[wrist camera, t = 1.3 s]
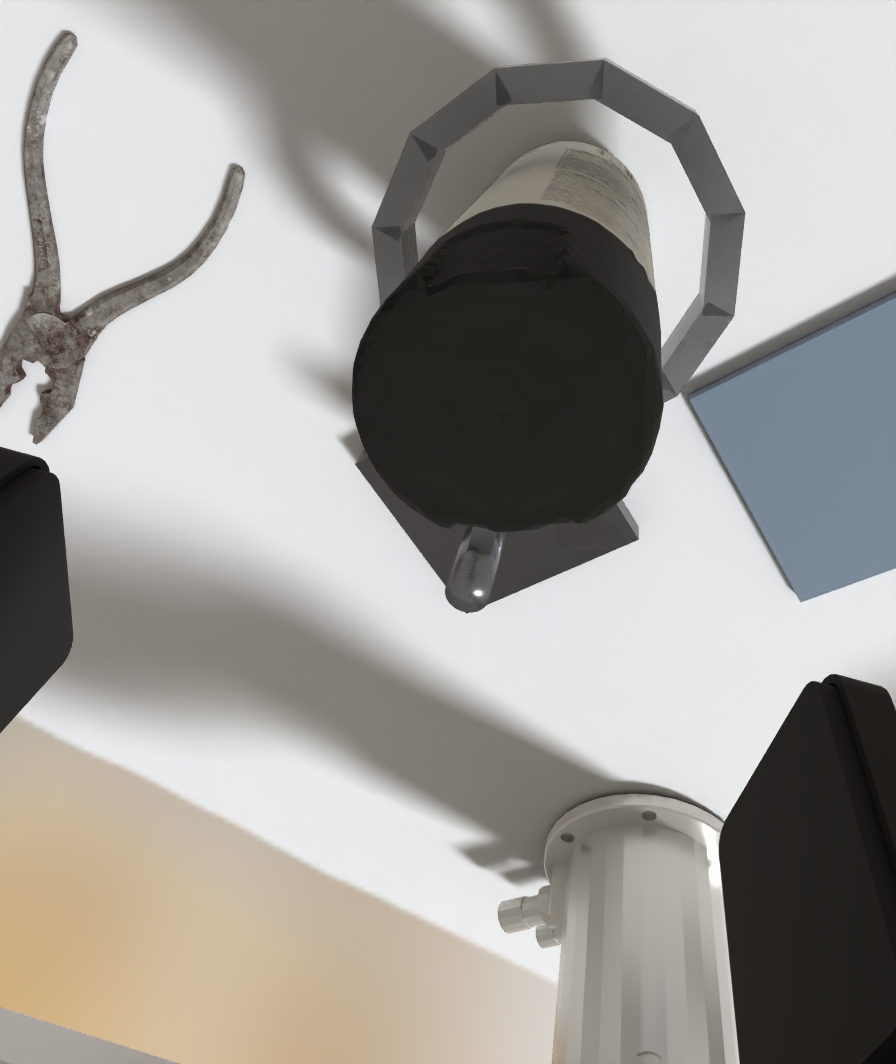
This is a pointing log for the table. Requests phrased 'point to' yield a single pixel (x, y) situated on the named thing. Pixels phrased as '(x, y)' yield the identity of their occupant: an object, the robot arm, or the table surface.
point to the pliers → (42, 323)
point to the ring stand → (535, 555)
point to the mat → (817, 448)
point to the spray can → (521, 352)
